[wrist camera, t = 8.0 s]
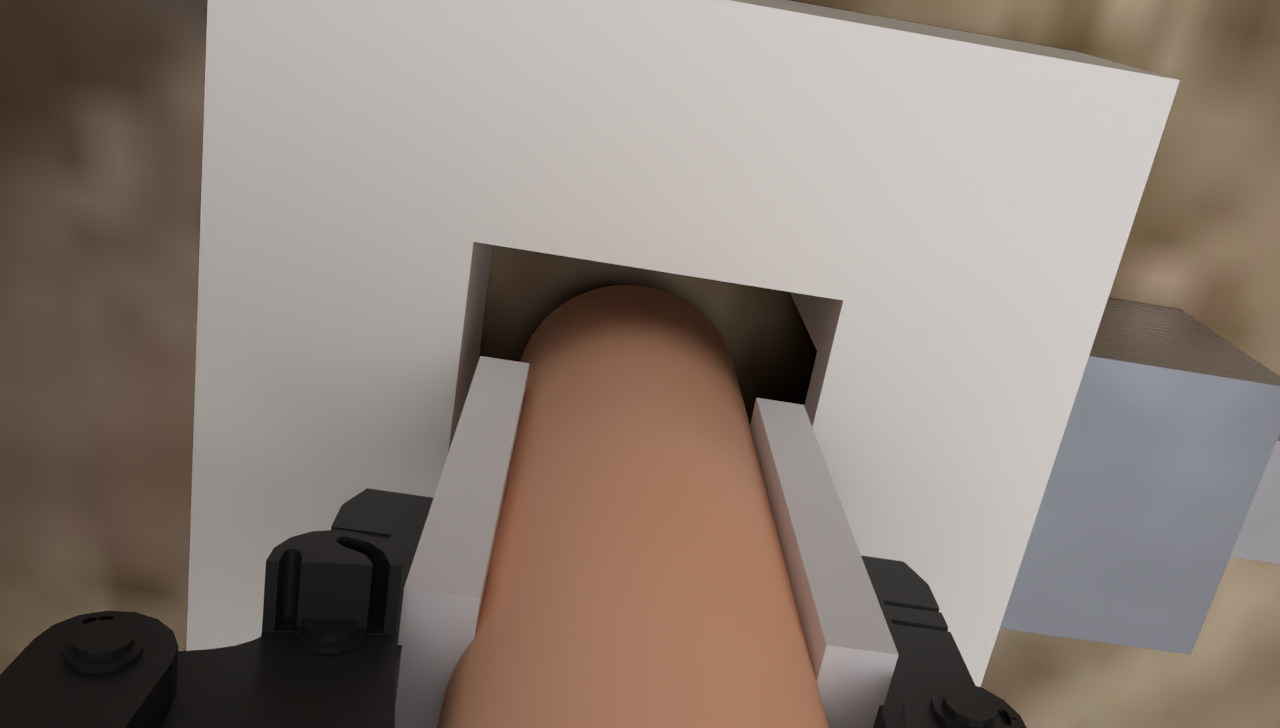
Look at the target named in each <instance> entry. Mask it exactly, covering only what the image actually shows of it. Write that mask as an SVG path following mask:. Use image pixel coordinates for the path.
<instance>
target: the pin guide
mask: <svg viewBox="0 0 1280 728" xmlns="http://www.w3.org/2000/svg"><path fill="white" fill-rule="evenodd" d="M1279 434H1280V376H1278V375H1277V374H1275V373H1274V372H1272V371H1271V370H1269V369H1268V368H1266V367H1265V366H1263V365H1262V364H1261V363H1259V362H1258V361H1256V360H1255V359H1253V358H1252V357H1250V356H1249V355H1247V354H1246V353H1244V352H1243V351H1241V350H1240V349H1239V348H1237V347H1236V346H1234V345H1233V344H1231V343H1230V342H1228V341H1227V340H1225V339H1224V338H1222V337H1221V336H1219V335H1218V334H1217V333H1215V332H1214V331H1212V330H1211V329H1209V328H1208V327H1206V326H1205V325H1203V324H1202V323H1200V322H1199V321H1198V320H1196V319H1195V318H1193V317H1192V316H1190V315H1189V314H1187V313H1186V312H1184V311H1183V310H1178V309H1172V308H1166V307H1160V306H1154V305H1148V304H1141V303H1135V302H1129V301H1123V300H1117V299H1110V298H1108V300H1107V303H1106V306H1105V309H1104V312H1103V315H1102V318H1101V321H1100V324H1099V328H1098V331H1097V334H1096V337H1095V340H1094V343H1093V346H1092V349H1091V352H1090V355H1089V358H1088V361H1087V364H1086V367H1085V370H1084V373H1083V376H1082V379H1081V382H1080V385H1079V388H1078V391H1077V394H1076V397H1075V400H1074V404H1073V407H1072V410H1071V413H1070V416H1069V419H1068V422H1067V425H1066V428H1065V431H1064V434H1063V437H1062V440H1061V443H1060V446H1059V449H1058V452H1057V455H1056V458H1055V461H1054V464H1053V467H1052V470H1051V473H1050V476H1049V480H1048V483H1047V486H1046V489H1045V492H1044V495H1043V498H1042V501H1041V504H1040V507H1039V510H1038V513H1037V516H1036V519H1035V522H1034V525H1033V528H1032V531H1031V534H1030V537H1029V540H1028V543H1027V546H1026V549H1025V552H1024V556H1023V559H1022V562H1021V565H1020V568H1019V571H1018V574H1017V577H1016V580H1015V583H1014V586H1013V589H1012V592H1011V595H1010V598H1009V601H1008V604H1007V607H1006V610H1005V613H1004V616H1003V619H1002V622H1001V625H1000V628H1003V629H1010V630H1017V631H1024V632H1031V633H1039V634H1046V635H1053V636H1060V637H1068V638H1075V639H1082V640H1089V641H1096V642H1104V643H1111V644H1118V645H1125V646H1133V647H1140V648H1147V649H1154V650H1161V651H1169V652H1176V653H1183V654H1190V655H1191V653H1192V650H1193V648H1194V645H1195V643H1196V640H1197V638H1198V635H1199V633H1200V630H1201V628H1202V625H1203V623H1204V620H1205V618H1206V615H1207V613H1208V610H1209V608H1210V605H1211V603H1212V600H1213V598H1214V595H1215V593H1216V590H1217V588H1218V586H1219V583H1220V581H1221V578H1222V576H1223V573H1224V571H1225V568H1226V566H1227V563H1228V561H1229V558H1230V556H1231V553H1232V551H1233V548H1234V546H1235V543H1236V541H1237V538H1238V536H1239V533H1240V531H1241V528H1242V526H1243V523H1244V521H1245V518H1246V516H1247V513H1248V511H1249V508H1250V506H1251V504H1252V501H1253V499H1254V496H1255V494H1256V491H1257V489H1258V486H1259V484H1260V481H1261V479H1262V476H1263V474H1264V471H1265V469H1266V466H1267V464H1268V461H1269V459H1270V456H1271V454H1272V451H1273V449H1274V446H1275V444H1276V441H1277V439H1278V436H1279Z"/></svg>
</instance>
